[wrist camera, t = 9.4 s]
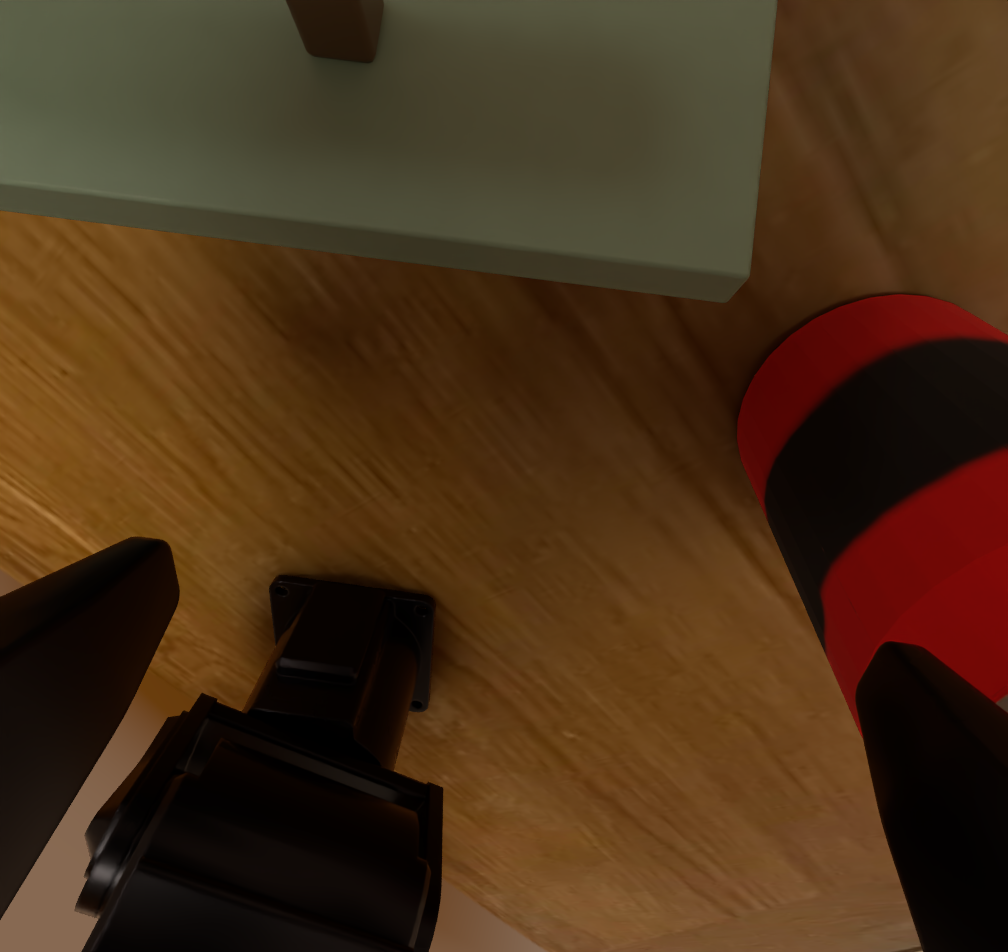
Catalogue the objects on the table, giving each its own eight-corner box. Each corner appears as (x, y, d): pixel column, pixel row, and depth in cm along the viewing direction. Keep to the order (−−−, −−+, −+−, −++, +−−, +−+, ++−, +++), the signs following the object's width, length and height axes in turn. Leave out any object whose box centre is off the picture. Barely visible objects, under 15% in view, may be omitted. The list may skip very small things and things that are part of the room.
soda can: (690, 384, 20) (809, 698, 10) (947, 233, 17) (1480, 457, 7) (796, 547, 23) (973, 924, 13) (1033, 441, 20) (1502, 815, 10)
